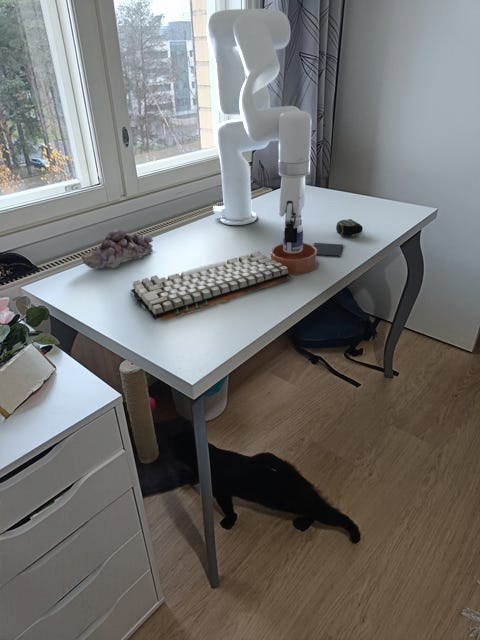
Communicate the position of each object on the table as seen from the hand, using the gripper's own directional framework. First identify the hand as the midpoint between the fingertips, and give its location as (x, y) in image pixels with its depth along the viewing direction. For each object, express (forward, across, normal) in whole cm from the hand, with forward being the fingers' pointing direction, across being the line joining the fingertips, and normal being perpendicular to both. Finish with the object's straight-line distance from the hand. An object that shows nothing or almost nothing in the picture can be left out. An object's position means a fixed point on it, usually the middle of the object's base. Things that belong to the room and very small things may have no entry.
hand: (292, 237), depth 118 cm
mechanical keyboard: (+8, +17, -18) cm, 26 cm away
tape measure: (+8, -24, +13) cm, 29 cm away
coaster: (+8, -10, +8) cm, 15 cm away
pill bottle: (+4, 0, 0) cm, 4 cm away
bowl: (+8, +1, 0) cm, 8 cm away
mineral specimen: (+8, +7, -49) cm, 50 cm away
